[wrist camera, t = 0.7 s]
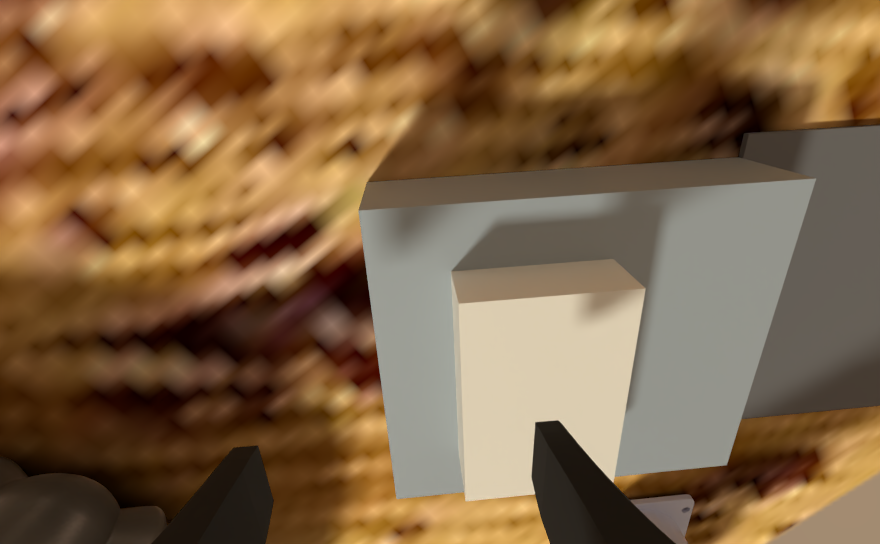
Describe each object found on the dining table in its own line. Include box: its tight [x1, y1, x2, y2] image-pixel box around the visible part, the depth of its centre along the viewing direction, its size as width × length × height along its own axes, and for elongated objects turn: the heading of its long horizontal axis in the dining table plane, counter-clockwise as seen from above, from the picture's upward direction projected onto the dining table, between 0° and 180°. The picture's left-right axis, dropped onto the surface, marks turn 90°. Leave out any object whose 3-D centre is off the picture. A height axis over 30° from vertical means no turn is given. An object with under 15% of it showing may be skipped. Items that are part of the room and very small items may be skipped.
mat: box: [739, 124, 880, 419], centre depth 22 cm, size 16×12×1 cm
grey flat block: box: [359, 157, 816, 499], centre depth 20 cm, size 14×16×4 cm
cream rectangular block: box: [451, 259, 646, 501], centre depth 17 cm, size 9×6×2 cm, turn 3°
